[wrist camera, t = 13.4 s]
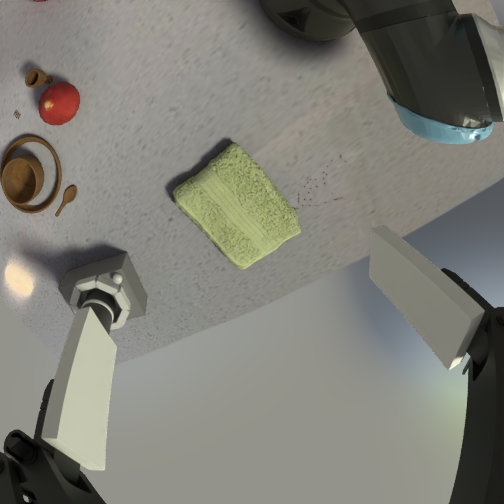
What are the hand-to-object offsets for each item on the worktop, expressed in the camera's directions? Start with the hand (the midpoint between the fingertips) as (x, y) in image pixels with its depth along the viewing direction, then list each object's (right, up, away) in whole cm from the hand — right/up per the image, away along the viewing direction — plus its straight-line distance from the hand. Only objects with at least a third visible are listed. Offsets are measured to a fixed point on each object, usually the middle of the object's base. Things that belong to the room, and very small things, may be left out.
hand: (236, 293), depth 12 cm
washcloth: (-1, +9, +32) cm, 33 cm away
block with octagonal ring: (-24, -4, +32) cm, 40 cm away
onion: (-25, +22, +18) cm, 38 cm away
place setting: (-30, +17, +20) cm, 40 cm away
